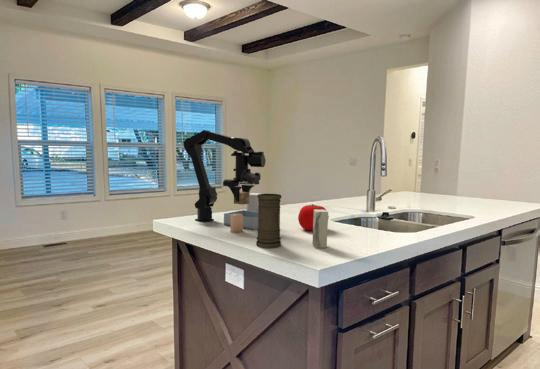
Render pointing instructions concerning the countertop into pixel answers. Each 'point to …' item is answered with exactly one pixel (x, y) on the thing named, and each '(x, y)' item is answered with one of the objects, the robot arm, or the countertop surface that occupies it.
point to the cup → (253, 202)
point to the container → (269, 221)
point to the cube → (243, 198)
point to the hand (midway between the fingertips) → (241, 201)
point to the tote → (244, 219)
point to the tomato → (308, 216)
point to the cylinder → (236, 223)
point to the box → (320, 228)
